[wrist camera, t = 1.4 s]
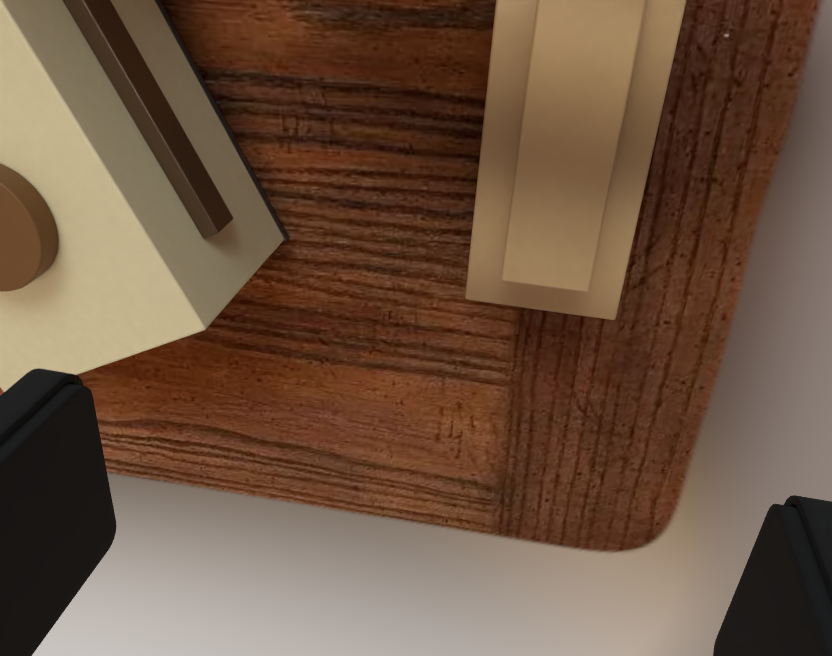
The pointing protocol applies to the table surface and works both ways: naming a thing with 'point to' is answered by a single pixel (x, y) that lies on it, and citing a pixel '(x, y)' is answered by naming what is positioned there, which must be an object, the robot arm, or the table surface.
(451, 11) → the table surface
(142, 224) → the bread box
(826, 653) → the robot arm
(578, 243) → the brush
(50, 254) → the brown disc
